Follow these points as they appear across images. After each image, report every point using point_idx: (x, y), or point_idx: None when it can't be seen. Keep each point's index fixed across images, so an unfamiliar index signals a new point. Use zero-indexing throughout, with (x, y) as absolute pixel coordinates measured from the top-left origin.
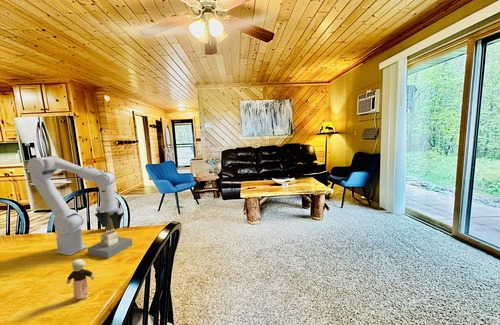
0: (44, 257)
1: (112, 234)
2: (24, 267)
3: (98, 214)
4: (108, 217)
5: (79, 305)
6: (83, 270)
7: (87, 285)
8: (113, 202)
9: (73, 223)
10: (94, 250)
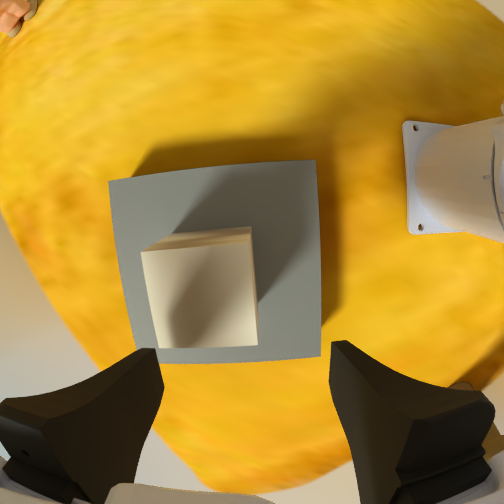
0: (486, 92)
1: (151, 298)
2: (458, 20)
3: (417, 435)
4: (482, 443)
5: None
6: None
7: None
8: None
9: None
10: (240, 164)
